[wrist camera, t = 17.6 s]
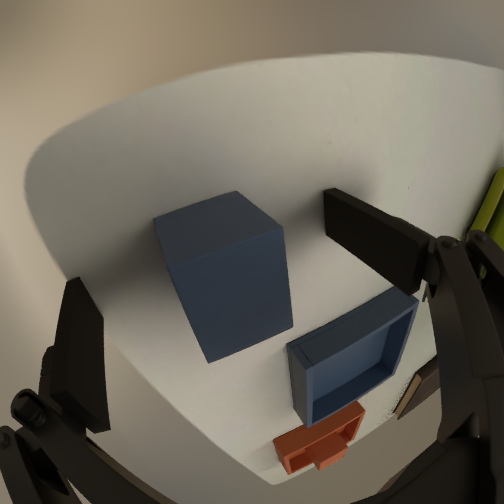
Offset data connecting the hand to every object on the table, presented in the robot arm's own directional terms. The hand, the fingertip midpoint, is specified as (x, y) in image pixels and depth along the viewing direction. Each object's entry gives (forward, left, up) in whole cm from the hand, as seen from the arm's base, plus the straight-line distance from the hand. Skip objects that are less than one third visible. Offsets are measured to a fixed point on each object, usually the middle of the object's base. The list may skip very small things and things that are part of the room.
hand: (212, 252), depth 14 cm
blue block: (0, 0, 0) cm, 0 cm away
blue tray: (+9, -15, 0) cm, 17 cm away
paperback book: (+37, -43, 0) cm, 57 cm away
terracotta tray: (+6, -32, 0) cm, 32 cm away
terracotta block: (+6, -32, 0) cm, 33 cm away
